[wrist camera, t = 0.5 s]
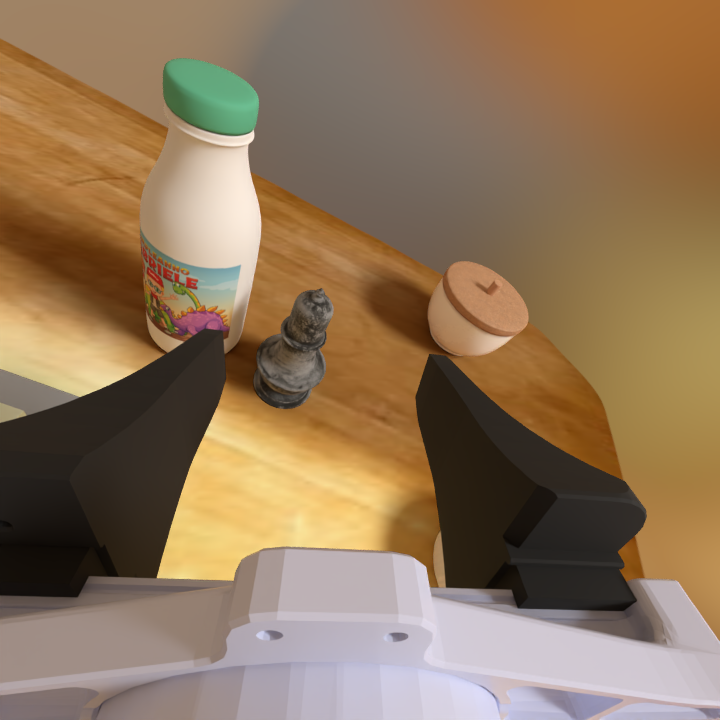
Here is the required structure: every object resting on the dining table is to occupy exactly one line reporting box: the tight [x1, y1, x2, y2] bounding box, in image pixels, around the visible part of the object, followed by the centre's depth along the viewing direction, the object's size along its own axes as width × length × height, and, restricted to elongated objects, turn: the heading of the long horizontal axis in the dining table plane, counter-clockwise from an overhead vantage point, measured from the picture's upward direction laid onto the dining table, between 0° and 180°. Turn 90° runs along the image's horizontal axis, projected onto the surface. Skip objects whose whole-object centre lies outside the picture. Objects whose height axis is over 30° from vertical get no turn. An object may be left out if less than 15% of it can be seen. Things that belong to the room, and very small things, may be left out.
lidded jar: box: [428, 261, 528, 356], centre depth 43 cm, size 11×11×9 cm
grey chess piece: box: [253, 288, 333, 409], centre depth 29 cm, size 6×6×12 cm
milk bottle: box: [140, 58, 261, 354], centre depth 26 cm, size 8×8×20 cm
